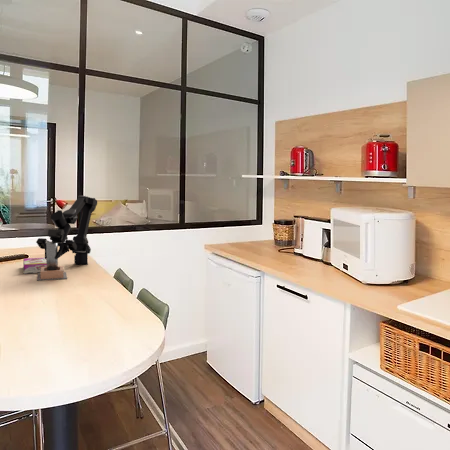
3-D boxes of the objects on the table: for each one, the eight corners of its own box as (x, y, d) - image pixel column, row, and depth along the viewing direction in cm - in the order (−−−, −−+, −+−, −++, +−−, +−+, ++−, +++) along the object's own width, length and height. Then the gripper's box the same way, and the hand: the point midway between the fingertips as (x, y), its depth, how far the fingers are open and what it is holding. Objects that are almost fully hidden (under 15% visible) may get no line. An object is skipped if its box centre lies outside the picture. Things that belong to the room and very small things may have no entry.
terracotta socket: (66, 272, 202) (66, 265, 201) (66, 279, 190) (66, 271, 189) (38, 274, 197) (37, 266, 196) (36, 280, 185) (36, 272, 184)
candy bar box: (46, 256, 215) (48, 263, 201) (46, 265, 216) (48, 272, 201) (22, 257, 210) (23, 264, 195) (23, 267, 210) (23, 274, 196)
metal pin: (55, 269, 197) (55, 241, 195) (59, 271, 193) (59, 243, 191) (45, 270, 193) (44, 242, 192) (48, 273, 190) (48, 244, 188)
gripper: (37, 222, 195) (25, 247, 186) (74, 223, 193) (62, 250, 184) (46, 235, 204) (35, 261, 194) (81, 237, 202) (71, 263, 193)
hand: (50, 258), depth 191 cm, fingers closed on metal pin, 5 cm apart
